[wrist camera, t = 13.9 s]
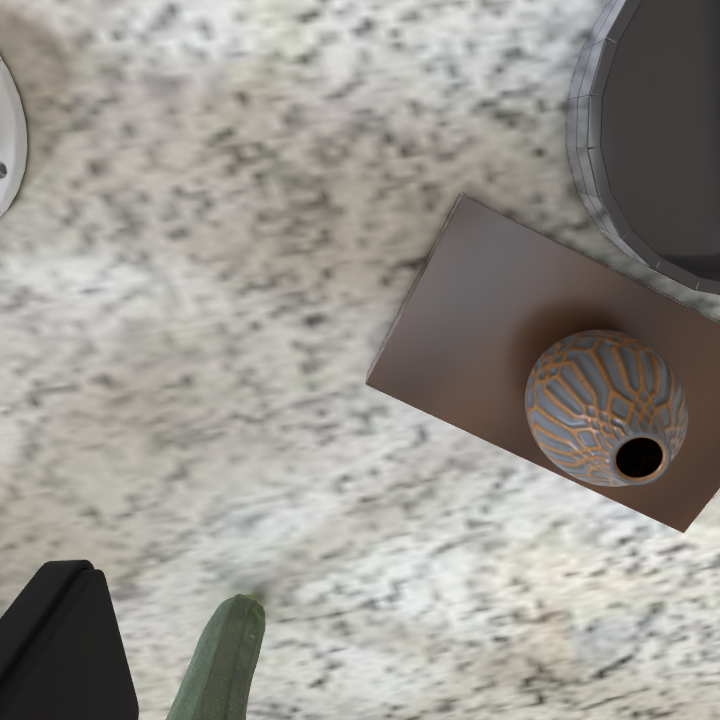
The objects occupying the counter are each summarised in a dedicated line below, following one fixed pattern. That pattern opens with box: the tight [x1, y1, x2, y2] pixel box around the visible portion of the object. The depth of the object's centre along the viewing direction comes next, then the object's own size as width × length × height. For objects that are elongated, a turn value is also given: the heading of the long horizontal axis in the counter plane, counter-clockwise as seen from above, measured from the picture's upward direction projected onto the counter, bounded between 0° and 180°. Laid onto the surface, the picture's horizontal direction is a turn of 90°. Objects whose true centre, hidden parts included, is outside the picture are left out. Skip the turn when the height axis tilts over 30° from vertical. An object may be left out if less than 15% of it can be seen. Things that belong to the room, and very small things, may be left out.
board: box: [365, 193, 720, 533], centre depth 34 cm, size 20×11×2 cm, turn 65°
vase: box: [525, 330, 688, 486], centre depth 29 cm, size 7×7×9 cm
